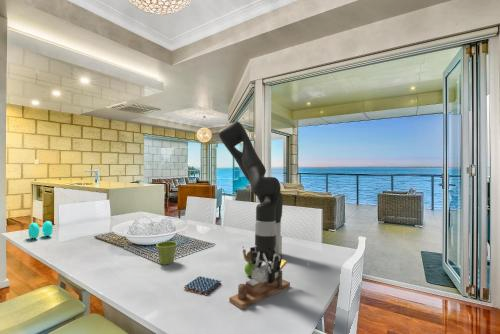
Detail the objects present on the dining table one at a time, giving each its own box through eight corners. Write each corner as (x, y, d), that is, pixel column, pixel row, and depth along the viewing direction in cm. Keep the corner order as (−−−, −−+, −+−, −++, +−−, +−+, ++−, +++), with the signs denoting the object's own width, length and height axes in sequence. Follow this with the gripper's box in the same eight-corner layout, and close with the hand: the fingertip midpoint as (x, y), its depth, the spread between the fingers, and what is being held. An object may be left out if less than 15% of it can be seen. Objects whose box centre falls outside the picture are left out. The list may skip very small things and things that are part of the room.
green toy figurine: (241, 273, 105) (242, 244, 106) (256, 272, 106) (257, 244, 106) (242, 278, 100) (242, 248, 100) (258, 278, 100) (258, 248, 101)
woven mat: (198, 280, 99) (198, 274, 99) (222, 285, 95) (222, 279, 95) (182, 291, 90) (182, 285, 90) (207, 297, 85) (207, 291, 86)
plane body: (277, 281, 98) (278, 263, 98) (289, 286, 94) (290, 267, 94) (229, 301, 82) (229, 280, 82) (241, 309, 77) (241, 286, 78)
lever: (271, 271, 94) (281, 260, 98) (278, 274, 91) (288, 263, 95) (270, 269, 93) (280, 258, 97) (277, 272, 91) (287, 261, 95)
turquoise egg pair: (27, 238, 153) (28, 222, 154) (47, 235, 162) (48, 219, 162) (32, 241, 148) (33, 224, 148) (53, 237, 156) (53, 221, 156)
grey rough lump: (267, 271, 94) (267, 263, 94) (278, 276, 90) (278, 268, 90) (251, 277, 88) (251, 269, 88) (262, 283, 84) (262, 274, 84)
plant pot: (151, 264, 113) (151, 245, 114) (165, 258, 122) (165, 240, 122) (167, 267, 110) (168, 248, 110) (181, 260, 119) (181, 242, 119)
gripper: (244, 230, 92) (243, 276, 92) (273, 238, 81) (272, 290, 81) (259, 227, 97) (258, 271, 97) (287, 234, 86) (287, 283, 86)
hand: (265, 279), depth 89 cm, fingers closed on grey rough lump, 5 cm apart
